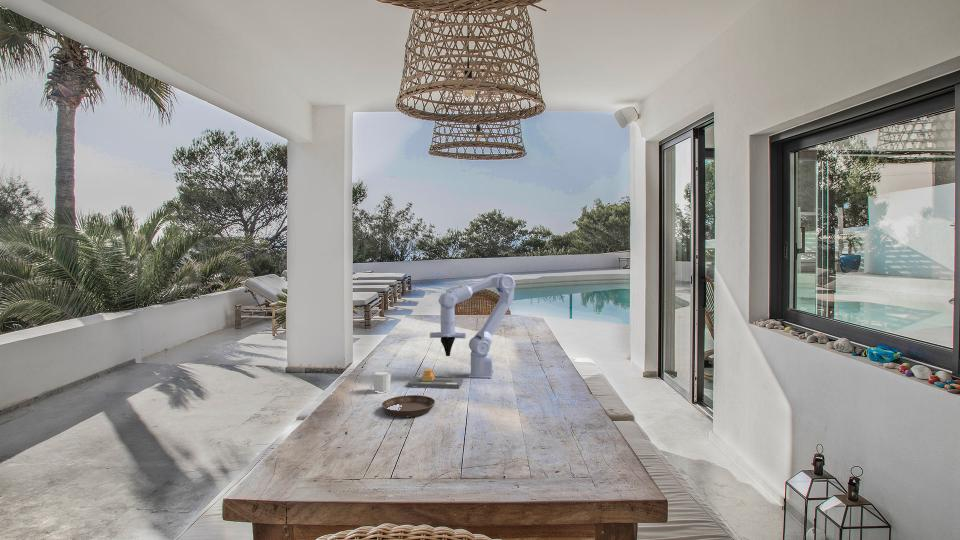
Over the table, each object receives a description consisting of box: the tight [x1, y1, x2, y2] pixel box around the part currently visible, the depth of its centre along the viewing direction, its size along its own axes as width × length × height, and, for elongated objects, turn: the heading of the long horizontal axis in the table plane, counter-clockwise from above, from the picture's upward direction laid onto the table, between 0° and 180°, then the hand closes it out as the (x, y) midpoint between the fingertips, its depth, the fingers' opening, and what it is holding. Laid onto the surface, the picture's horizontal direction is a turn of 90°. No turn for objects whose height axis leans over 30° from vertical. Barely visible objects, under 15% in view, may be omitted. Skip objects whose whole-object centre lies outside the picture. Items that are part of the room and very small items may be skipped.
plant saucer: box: [381, 394, 436, 418], centre depth 196 cm, size 18×18×3 cm
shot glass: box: [372, 370, 392, 392], centre depth 220 cm, size 7×7×7 cm
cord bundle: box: [435, 375, 454, 378], centre depth 238 cm, size 12×2×1 cm, turn 82°
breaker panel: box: [407, 376, 464, 390], centre depth 230 cm, size 20×10×2 cm, turn 82°
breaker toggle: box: [421, 368, 436, 382], centre depth 230 cm, size 4×5×4 cm
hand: (448, 355), depth 239 cm, fingers closed
